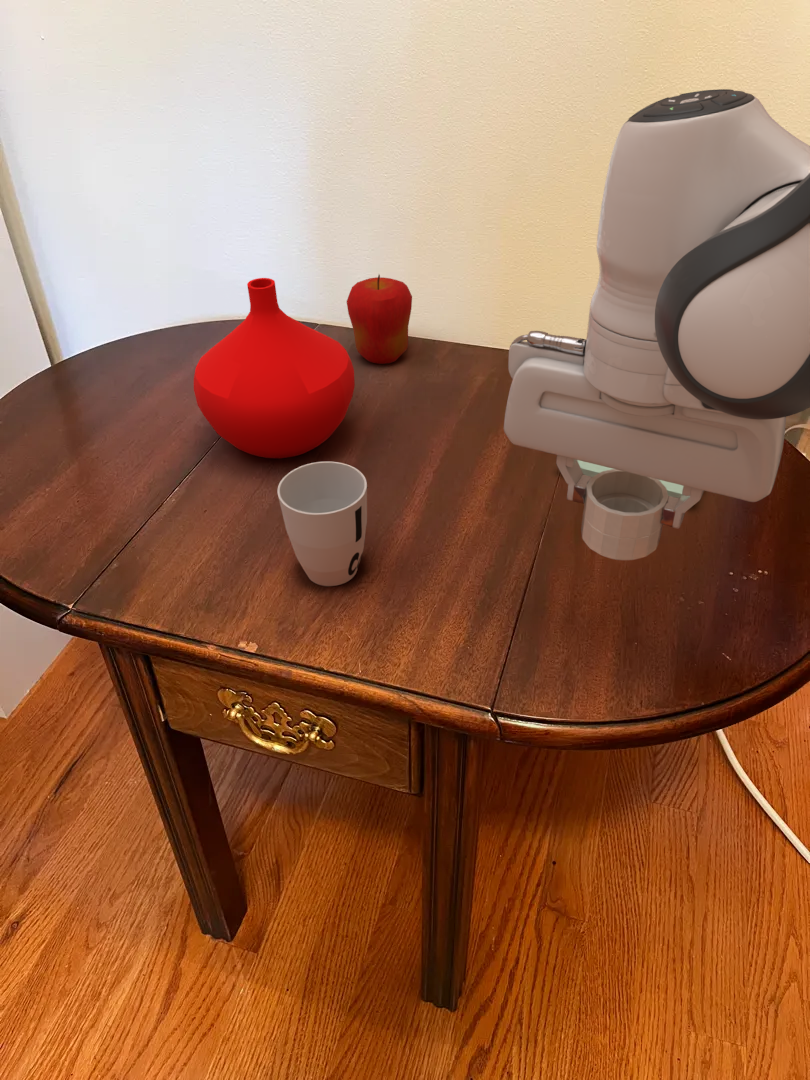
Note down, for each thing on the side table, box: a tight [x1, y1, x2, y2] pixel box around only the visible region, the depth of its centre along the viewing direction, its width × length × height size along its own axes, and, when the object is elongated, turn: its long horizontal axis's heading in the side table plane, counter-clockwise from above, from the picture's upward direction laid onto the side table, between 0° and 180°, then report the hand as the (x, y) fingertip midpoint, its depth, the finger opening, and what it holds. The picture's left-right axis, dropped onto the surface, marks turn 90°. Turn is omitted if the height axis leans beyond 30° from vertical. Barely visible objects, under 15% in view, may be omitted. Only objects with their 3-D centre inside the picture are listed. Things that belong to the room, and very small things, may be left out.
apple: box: [346, 274, 413, 365], centre depth 112 cm, size 9×8×12 cm
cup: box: [276, 461, 368, 587], centre depth 79 cm, size 8×8×10 cm
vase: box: [193, 277, 356, 459], centre depth 95 cm, size 18×18×19 cm
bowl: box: [580, 469, 668, 561], centre depth 67 cm, size 6×6×5 cm
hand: (624, 510), depth 67 cm, fingers closed on bowl, 6 cm apart
